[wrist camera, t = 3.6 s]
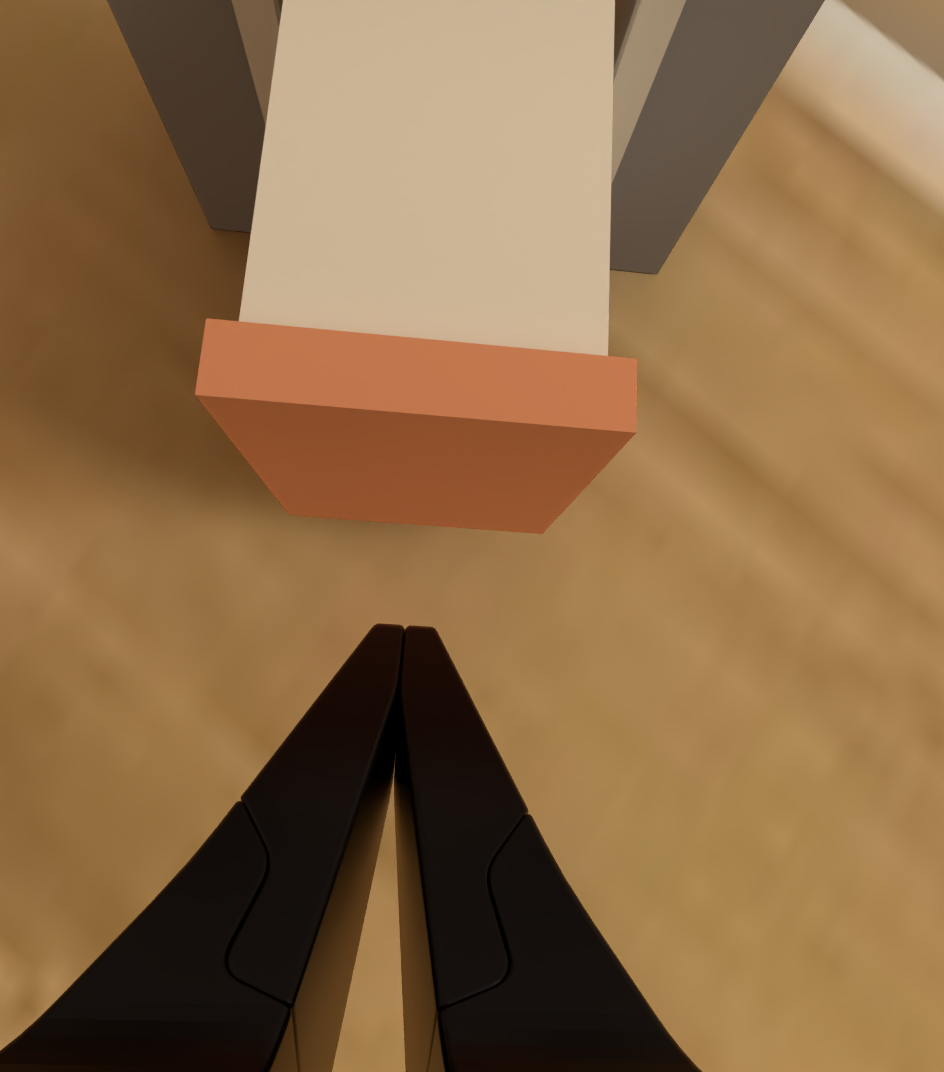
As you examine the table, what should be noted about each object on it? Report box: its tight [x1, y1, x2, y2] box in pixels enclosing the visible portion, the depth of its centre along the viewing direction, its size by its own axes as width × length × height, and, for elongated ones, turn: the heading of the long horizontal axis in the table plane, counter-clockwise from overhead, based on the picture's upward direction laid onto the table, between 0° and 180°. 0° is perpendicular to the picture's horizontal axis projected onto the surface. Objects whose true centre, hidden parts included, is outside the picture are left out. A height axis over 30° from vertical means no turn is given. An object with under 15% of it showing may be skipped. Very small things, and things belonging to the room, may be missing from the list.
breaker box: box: [107, 0, 825, 274], centre depth 14 cm, size 4×12×10 cm, turn 87°
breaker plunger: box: [195, 0, 637, 534], centre depth 12 cm, size 10×5×6 cm, turn 177°
